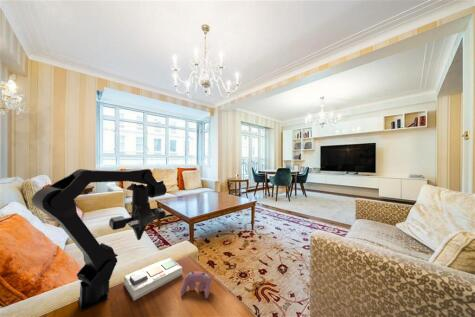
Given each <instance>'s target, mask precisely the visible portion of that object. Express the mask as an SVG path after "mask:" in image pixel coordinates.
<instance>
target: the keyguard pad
mask: <svg viewBox="0 0 475 317" xmlns="http://www.w3.org/2000/svg"><path fill="white" fill-rule="evenodd" d="M170 260H172V261H173V262H174V263H175V264H176V266H174V267H172V268H170V269H168V270H165V269H164V268H163V267H162V266H161V264H163V263H165V262H167V261H170ZM156 266H159V267H160V268H161V269H162V270H163V272H162V273H160V274H157V275H155V276H153V277H150V276H149V275H148V274H147V273H146V272H147V270H149V269H152V268H154V267H156ZM141 270H144V272H145V273H146V274H147V275H148V278H147V280H145V281H143V282H141V283H139V284H137V285H135V286H133V284H132V283H131V281H130V275H132V274H134V273H137V272H139V271H141ZM182 274H183V266H181V265H180V264H179V263H178V262H177V261H175V259H173V258H172V257H171V256H168V257H166V258H163V259H161V260H158V261H156V262H154V263H152V264H150V265H147V266H144V267H142V268H139V269H137V270H136V271H132V272H130V273H128V274H126V275H124V277H123V285H124V287H125V288H126V290H127V291H128V293H129V295H130V297H131V298H132V300H133V301H136V300H137V299H140V298H141V297H143V296H146V295H147V294H149V293H151V292H152V291H154V290H157V289H159V287H160V288H161V287H162V286H164V285H166V284H167V283H169V282H171V281H173V280H175V279H177V278H178V277H181V276H182Z"/></svg>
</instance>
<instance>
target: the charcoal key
mask: <svg viewBox="0 0 475 317" xmlns="http://www.w3.org/2000/svg"><path fill="white" fill-rule="evenodd" d="M147 278H148V275H147V274H146V273H145V272H144V270H141V271H139V272H137V273H134V274H132V275H130V281H131V283H132V284H133V286H135V285H137V284H139V283H141V282H143V281H145V280H147Z"/></svg>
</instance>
